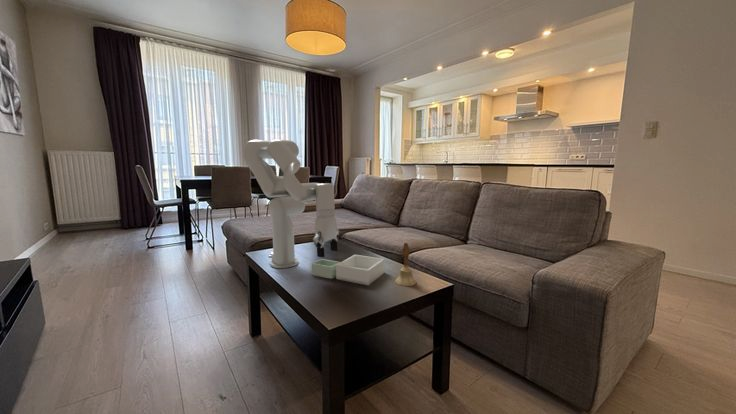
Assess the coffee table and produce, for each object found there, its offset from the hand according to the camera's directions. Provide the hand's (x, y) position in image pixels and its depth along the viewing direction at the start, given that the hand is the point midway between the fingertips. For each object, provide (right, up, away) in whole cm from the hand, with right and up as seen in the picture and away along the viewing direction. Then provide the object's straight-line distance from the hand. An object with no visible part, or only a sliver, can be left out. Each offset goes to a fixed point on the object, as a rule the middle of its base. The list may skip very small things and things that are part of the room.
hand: (327, 253), depth 126 cm
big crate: (+14, -9, 0) cm, 17 cm away
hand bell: (+32, -10, -7) cm, 34 cm away
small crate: (-1, -9, +2) cm, 9 cm away
